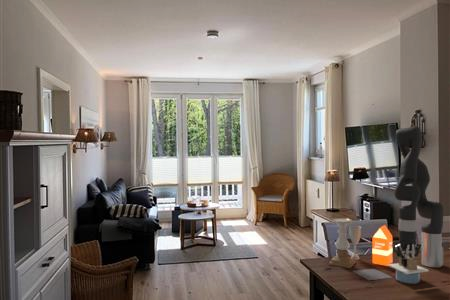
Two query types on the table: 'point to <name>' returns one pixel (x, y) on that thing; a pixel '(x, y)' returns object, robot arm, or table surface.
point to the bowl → (408, 277)
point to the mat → (372, 274)
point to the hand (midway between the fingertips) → (407, 265)
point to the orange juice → (382, 247)
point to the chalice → (355, 238)
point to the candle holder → (342, 245)
